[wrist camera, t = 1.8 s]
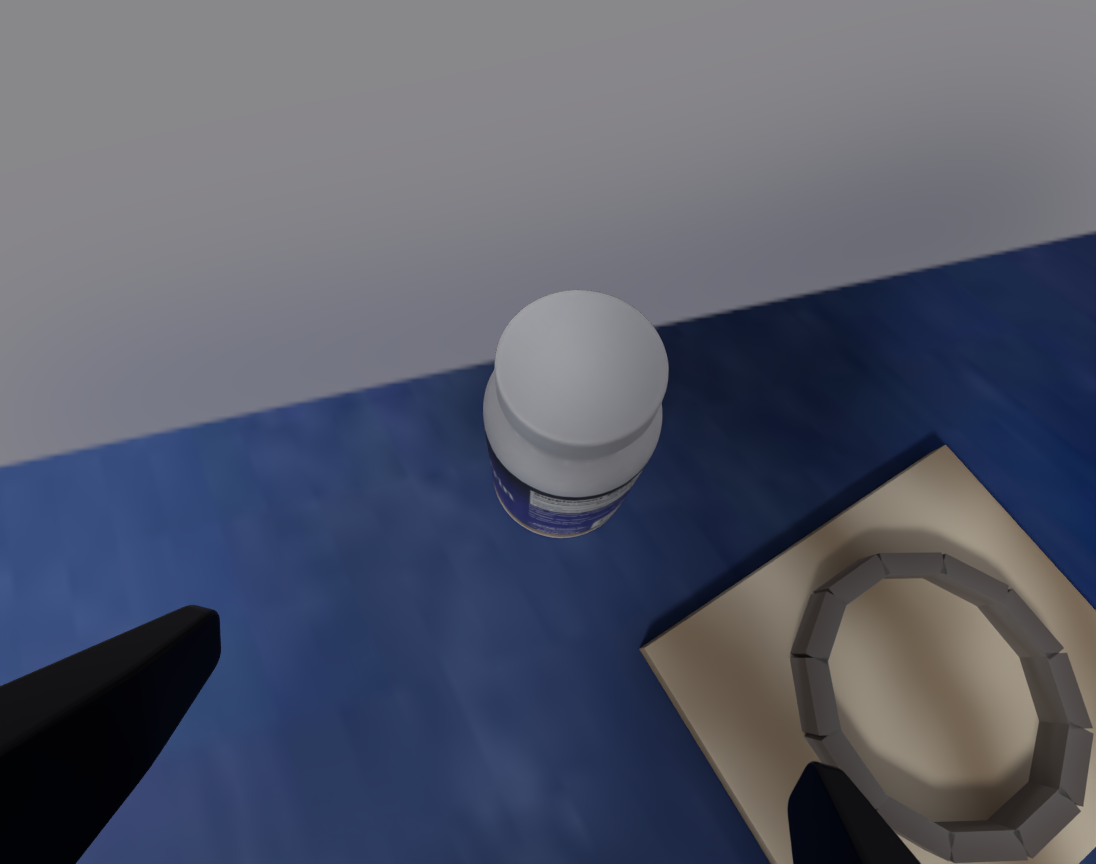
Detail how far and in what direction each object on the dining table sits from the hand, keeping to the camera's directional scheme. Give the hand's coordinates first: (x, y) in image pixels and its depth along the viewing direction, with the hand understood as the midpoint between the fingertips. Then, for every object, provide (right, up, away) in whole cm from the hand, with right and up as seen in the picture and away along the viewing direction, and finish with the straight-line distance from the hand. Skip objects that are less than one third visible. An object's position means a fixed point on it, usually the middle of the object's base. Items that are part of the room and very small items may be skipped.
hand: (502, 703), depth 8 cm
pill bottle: (+1, +2, +16) cm, 16 cm away
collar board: (+14, -6, +13) cm, 20 cm away
